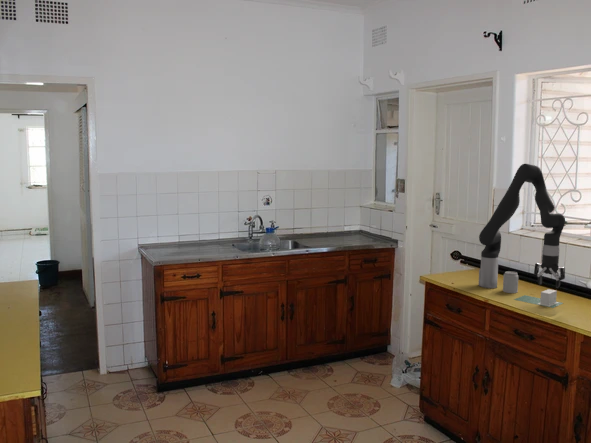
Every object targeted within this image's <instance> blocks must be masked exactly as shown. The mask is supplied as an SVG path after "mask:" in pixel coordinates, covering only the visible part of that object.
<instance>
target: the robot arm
mask: <svg viewBox="0 0 591 443" xmlns="http://www.w3.org/2000/svg"><path fill="white" fill-rule="evenodd" d="M524 183H528V184H529V183H531V184H532V186H533V187H534V189H535V194H534V201H535V204H536V206H537V208H538V210H539V216H540V222H541V225H542V226H543V227H544V228H546V229H552V230H550V231H548V232H545V233H544V235H543V246H542V250H541V253H542V254H541V263H540V262H536V263H535V264H534V269H533V270H534V272H533V274H534V276H536V277H537V284H538V285H542V284H543V275H544V274H545V275H546V274H548V275H552V276H553V277H554V279H556V280H555V288H556V289H558V288H559V287H560V286H561V281H564V280H565V279H566V268H565V266H563V267H560V266H559V261H560V241H561V240H560V238H561V235H562V232H563V230H564V227H565V223H566V219H565V215H564V214H562V213H560V212H559V213H552V212H554V210H555V205H554V202H553V201H552V198H551V197H550V194H549V192H548V189H547V185H546V182H545V178H544V174H543V172H542V169H541V167H539V166H537V165H534V164H529V163H522V164H521V165H519V167H518V168H517V170H516V172H515V174H514V176H513V179H512V180H511V183H510V185H509V187H508V189H507V190H506V192H505V194H504V196H502V199H501V200H500V202H499V203H498V205H497V207H496V208H495V210H494V212H493V214H492V216H491V217H490V219H489V221H488V222H487V223H486V225H485V226H483V228H482V230H481V231H480V232H479V236H478V238H479V240H478V241H479V243H480V244H481V245H483V246H484V248H483V249H482V250H481V253H480V268H479V269H478V286H479V287H481V288H484V289H496V288H498V276H499V275H498V274H499V255H500V252H501V246H502V234H501V232H500V228H502V227H503V225H505V224H506V223H507V222H508V221H509V220H510V219H511V218H512V217H513V216H514V214H515V213H516V211H517V210H518V208H519V206H520V202H521V201H520V194H521V193H520V192H521V189H522V187H523V185H524ZM540 268H541V270H540ZM558 271H559V272H560V273H559V272H558Z"/></svg>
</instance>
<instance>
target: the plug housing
mask: <svg viewBox="0 0 591 443" xmlns="http://www.w3.org/2000/svg"><path fill="white" fill-rule="evenodd" d="M557 292H558V291H557V289H556V290H554V289H550V288H548V289H545V290H543V291H540V298H541V300H540V304H543V305H548V306H549V305H551V304H554V303H556V302H557V296H558V293H557Z"/></svg>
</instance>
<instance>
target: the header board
mask: <svg viewBox="0 0 591 443" xmlns="http://www.w3.org/2000/svg"><path fill="white" fill-rule="evenodd" d="M513 300H514V301H519V302H524V303H528V304H533V305H537V306H542V307H546V308H547V307H548V308H552V309H554V308H556V307H559V306H561V305H562V304H564V303H563V302H561V301H556V303H554V304H551V305H549V306H548V305H543V304H540V300H541V297H535V296H531V295H525V294H524V295H521V296H519V297H517V298H513Z"/></svg>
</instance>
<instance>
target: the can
mask: <svg viewBox="0 0 591 443" xmlns="http://www.w3.org/2000/svg"><path fill="white" fill-rule="evenodd" d="M502 278H503V279H502V280H503V282H502V292H504V293H508V294H517V293H518V291H519V275H518V272H517V271H510V270H508V271H505V272H504V273H503V277H502Z"/></svg>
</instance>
